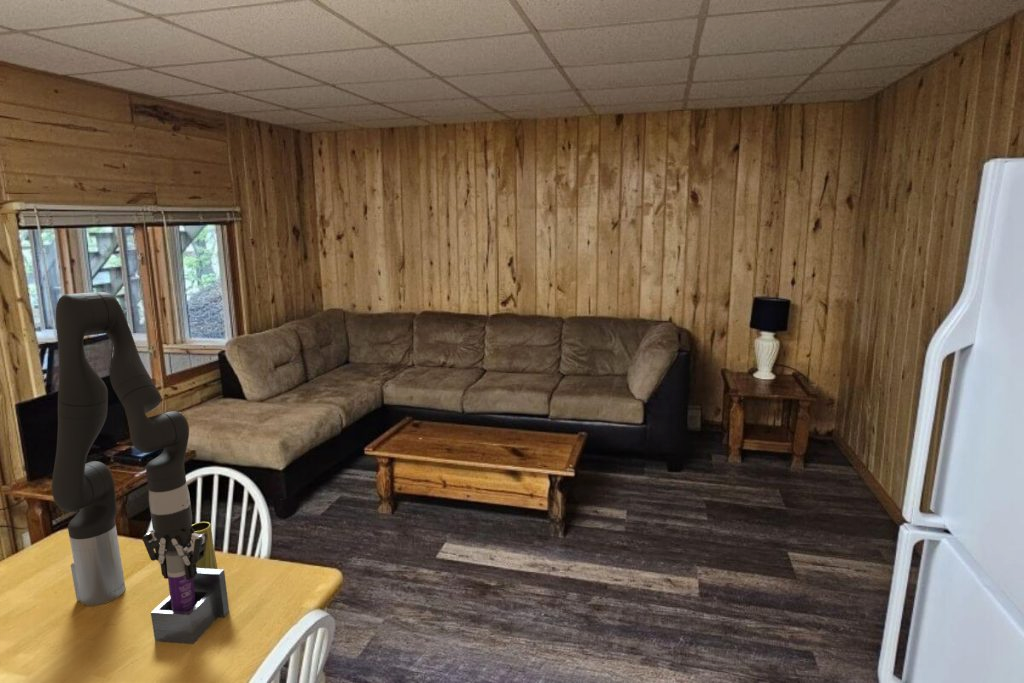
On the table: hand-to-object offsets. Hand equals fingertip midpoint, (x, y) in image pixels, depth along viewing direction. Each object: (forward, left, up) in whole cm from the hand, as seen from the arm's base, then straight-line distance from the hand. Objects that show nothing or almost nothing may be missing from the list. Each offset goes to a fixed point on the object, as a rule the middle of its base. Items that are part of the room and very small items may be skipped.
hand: (180, 577), depth 135 cm
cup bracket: (0, +1, -13) cm, 13 cm away
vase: (-8, +19, -13) cm, 24 cm away
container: (0, 0, -9) cm, 9 cm away
